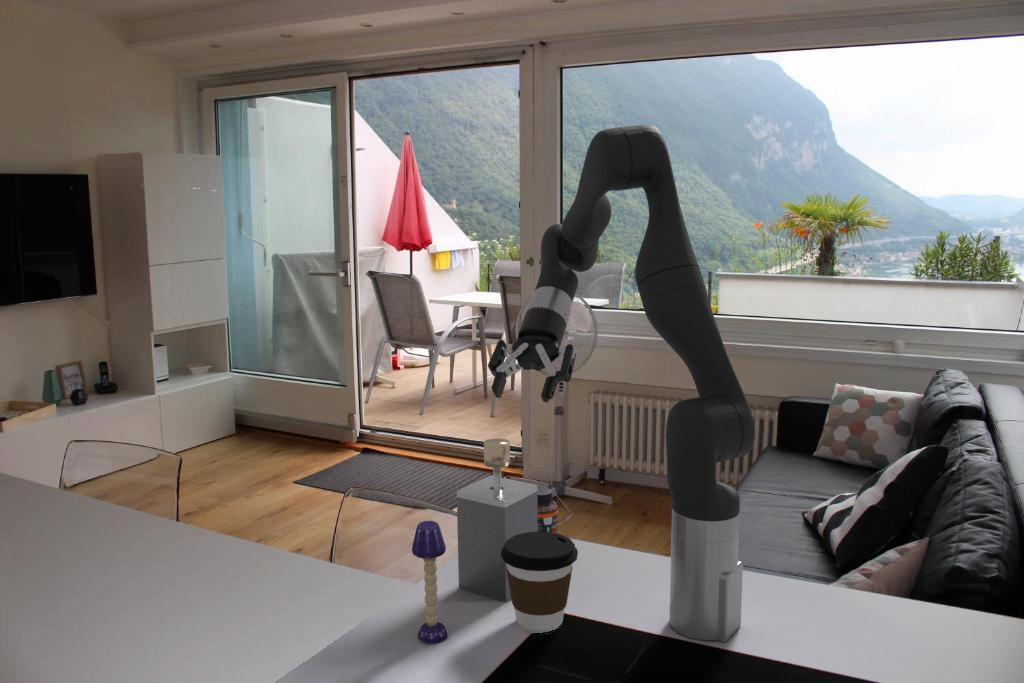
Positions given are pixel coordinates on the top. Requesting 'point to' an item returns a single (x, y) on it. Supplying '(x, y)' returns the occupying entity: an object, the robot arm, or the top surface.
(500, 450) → the tan rounded stemmed piece
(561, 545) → the coffee cup
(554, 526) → the supplement bottle
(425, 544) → the toy lamp
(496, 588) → the block with hole
